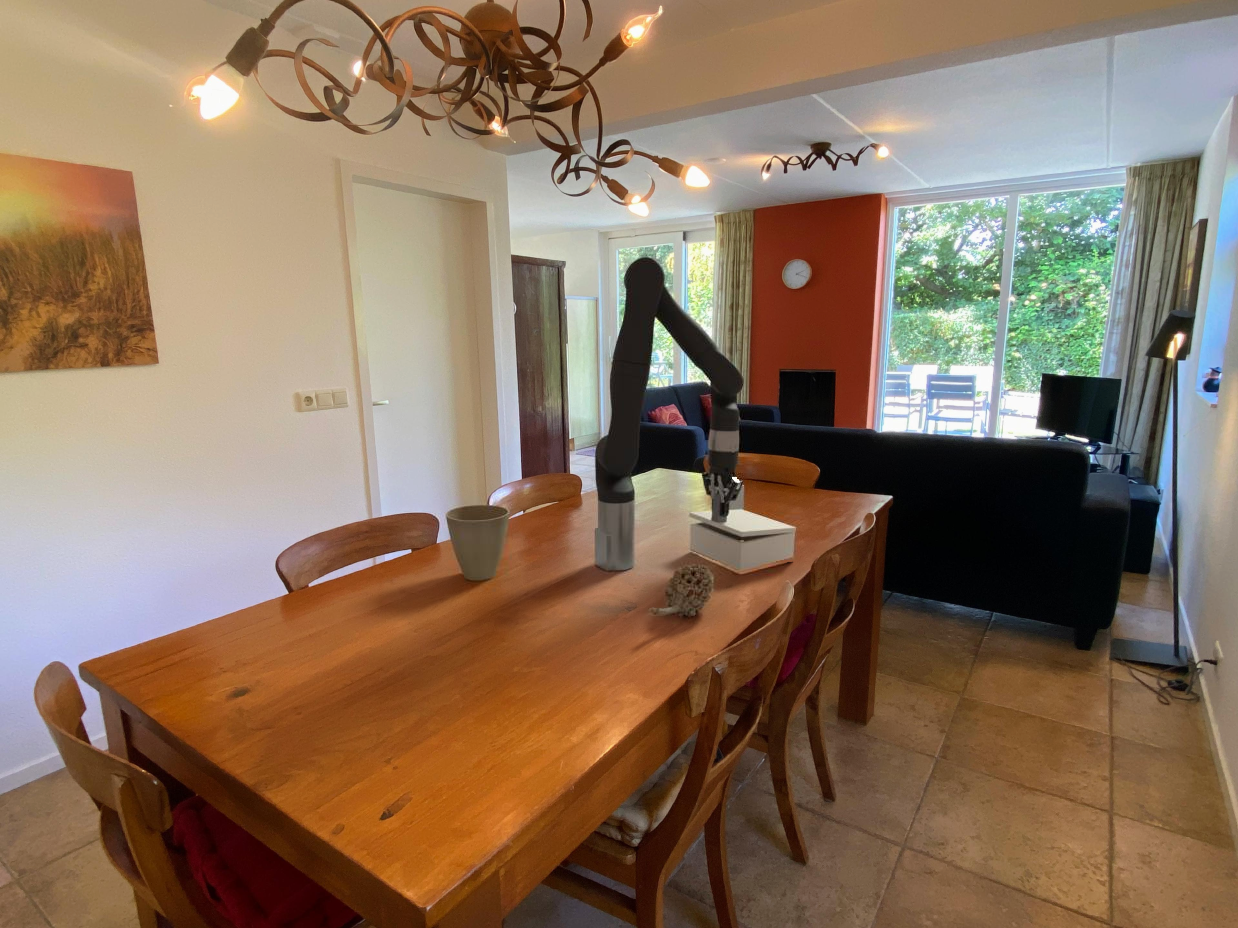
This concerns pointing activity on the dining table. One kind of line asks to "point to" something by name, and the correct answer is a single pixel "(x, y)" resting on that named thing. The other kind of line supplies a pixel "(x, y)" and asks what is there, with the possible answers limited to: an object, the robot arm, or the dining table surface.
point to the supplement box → (737, 501)
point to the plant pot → (478, 538)
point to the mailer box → (740, 546)
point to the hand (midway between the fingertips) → (720, 514)
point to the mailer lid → (740, 521)
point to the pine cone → (687, 591)
